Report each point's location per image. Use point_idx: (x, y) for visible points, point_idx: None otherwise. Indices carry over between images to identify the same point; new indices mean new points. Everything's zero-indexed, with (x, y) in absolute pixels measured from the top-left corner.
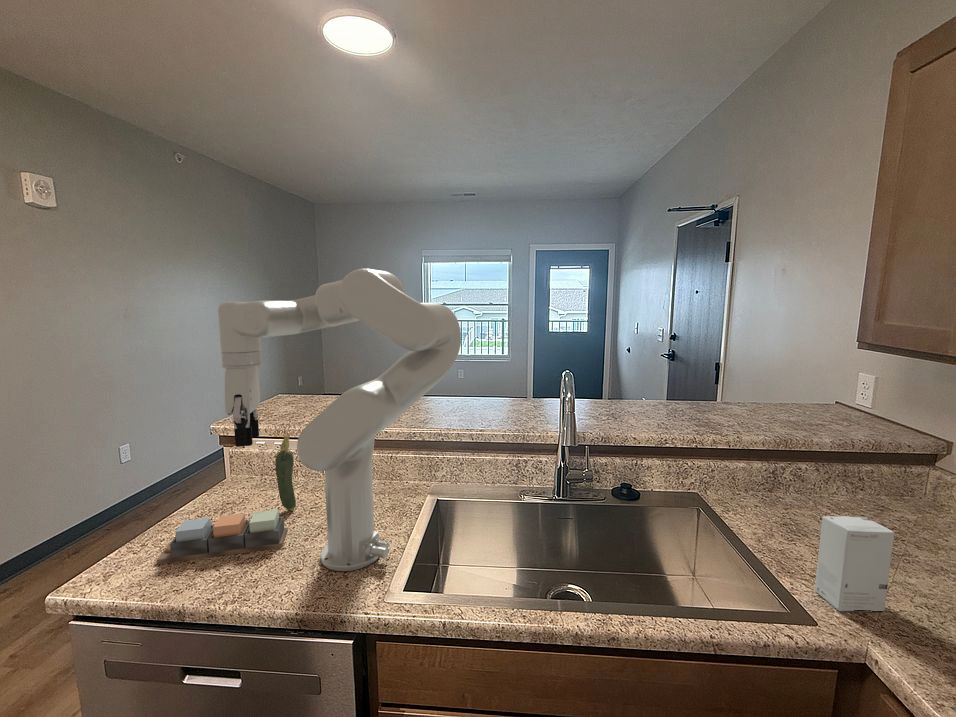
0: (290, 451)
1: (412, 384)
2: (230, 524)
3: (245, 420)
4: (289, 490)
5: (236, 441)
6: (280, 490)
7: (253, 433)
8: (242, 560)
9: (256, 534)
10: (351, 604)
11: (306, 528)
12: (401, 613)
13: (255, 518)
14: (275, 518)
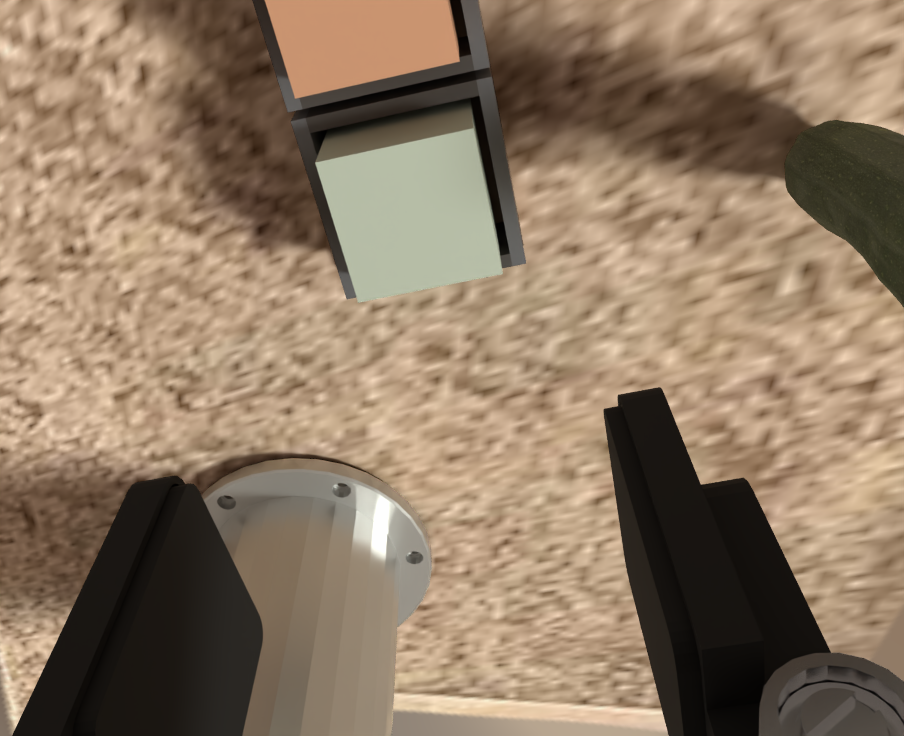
0: None
1: None
2: (285, 36)
3: (738, 693)
4: (829, 228)
5: (119, 546)
6: (830, 171)
7: (631, 572)
8: (228, 109)
9: (313, 184)
10: (19, 603)
11: (551, 318)
12: (14, 713)
13: (377, 176)
14: (394, 291)
